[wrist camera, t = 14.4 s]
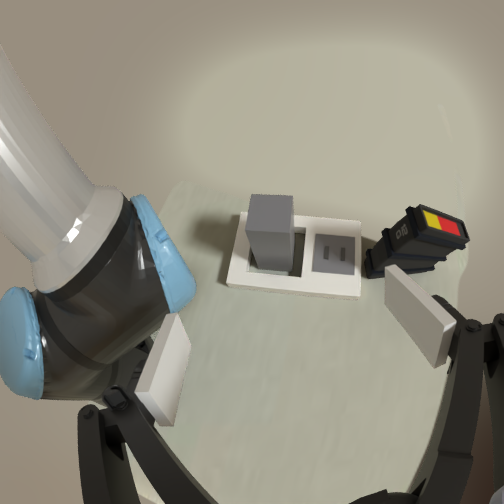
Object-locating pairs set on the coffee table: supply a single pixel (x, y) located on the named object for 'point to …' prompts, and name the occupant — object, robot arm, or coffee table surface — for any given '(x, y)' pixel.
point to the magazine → (416, 242)
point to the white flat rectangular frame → (307, 261)
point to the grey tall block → (271, 231)
